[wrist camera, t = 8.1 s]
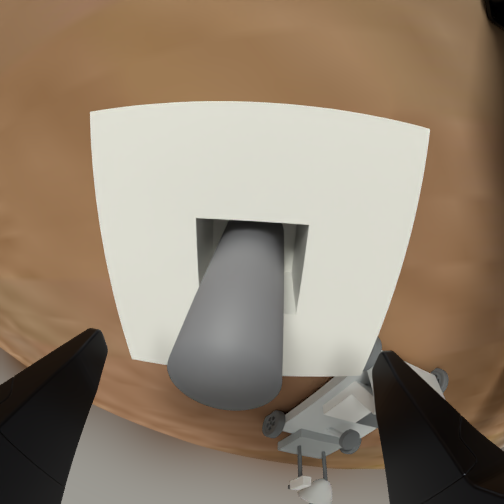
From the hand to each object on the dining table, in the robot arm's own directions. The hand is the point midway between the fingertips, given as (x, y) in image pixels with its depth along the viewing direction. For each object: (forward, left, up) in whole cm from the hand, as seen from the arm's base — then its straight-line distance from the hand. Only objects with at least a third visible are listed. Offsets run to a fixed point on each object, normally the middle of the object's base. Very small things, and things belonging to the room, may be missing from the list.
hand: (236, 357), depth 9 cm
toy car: (-10, +18, -11) cm, 23 cm away
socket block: (0, 0, -10) cm, 10 cm away
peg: (0, 0, -9) cm, 9 cm away
